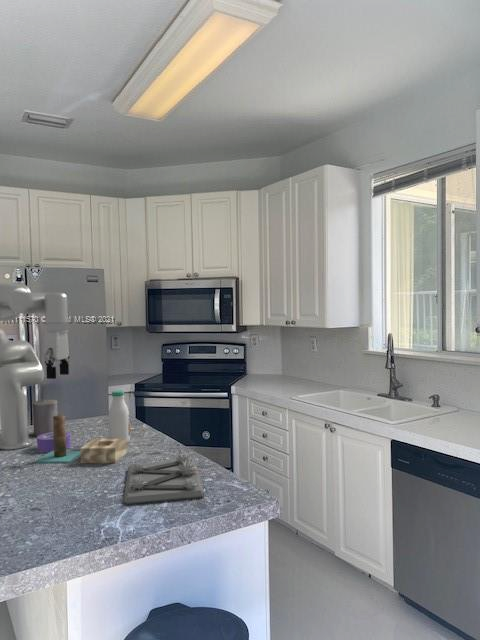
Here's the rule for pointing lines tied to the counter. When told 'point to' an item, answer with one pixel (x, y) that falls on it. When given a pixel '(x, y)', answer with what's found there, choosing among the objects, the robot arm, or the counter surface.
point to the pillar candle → (44, 416)
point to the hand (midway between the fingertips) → (58, 376)
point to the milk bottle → (119, 418)
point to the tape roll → (50, 442)
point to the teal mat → (66, 459)
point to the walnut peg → (59, 436)
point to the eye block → (103, 451)
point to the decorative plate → (163, 481)
